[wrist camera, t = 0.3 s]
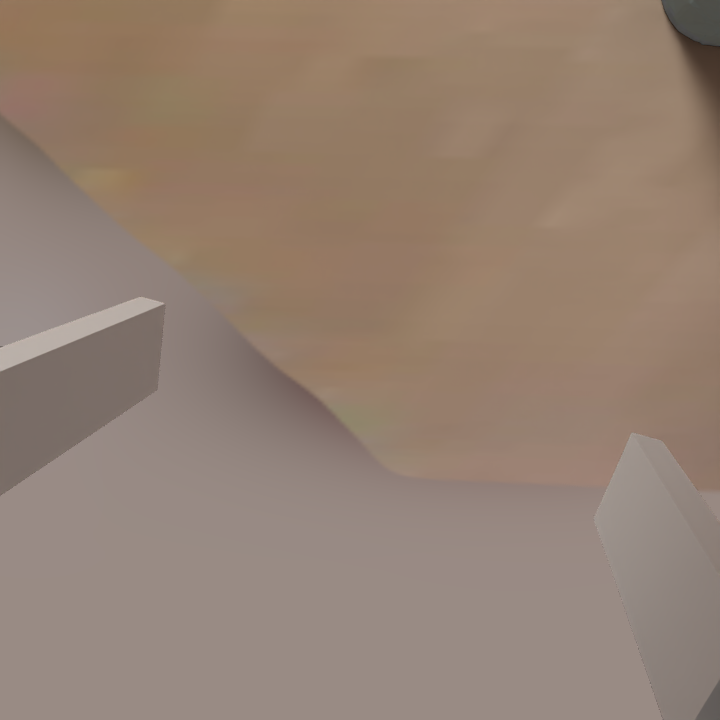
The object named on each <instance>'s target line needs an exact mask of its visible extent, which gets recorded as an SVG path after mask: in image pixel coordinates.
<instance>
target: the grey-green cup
mask: <svg viewBox="0 0 720 720" xmlns="http://www.w3.org/2000/svg"><path fill="white" fill-rule="evenodd" d="M662 3H663V7H664V10H665V12H666V14H667V15H668V17H669V19H670V21H671V22H672V23H673V25H674V26H675V28H676V29H677V30H678V31H679V32H680V33H682V34H684V35H685V36H687V37H689V38H690V39H692V40H694V41H697V42H700V43H701V44H702V45H712V46H720V0H662Z"/></svg>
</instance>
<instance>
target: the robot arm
mask: <svg viewBox="0 0 720 720" xmlns="http://www.w3.org/2000/svg"><path fill="white" fill-rule="evenodd" d="M164 314H165V303H162V302H158V301H155V300H151V299H147V298H144V297H139V298H136V299H133V300H130V301H128V302H125V303H122V304H119V305H117V306H114V307H111V308H108V309H105V310H103V311H100V312H97V313H95V314H92V315H89V316H86V317H83V318H81V319H78V320H75V321H72V322H70V323H67V324H64V325H62V326H58V327H56V328H53V329H50V330H47V331H45V332H42V333H39V334H36V335H34V336H31V337H28V338H25V339H22V340H20V341H17V342H14V343H11V344H9V345H6V346H2V347H0V496H1V495H2V494H3V493H5V492H6V491H8V490H10V489H11V488H13V487H14V486H16V485H17V484H18V483H20V482H21V481H23V480H24V479H26V478H27V477H29V476H30V475H32V474H33V473H35V472H36V471H38V470H39V469H41V468H42V467H44V466H45V465H47V464H48V463H50V462H51V461H53V460H54V459H56V458H57V457H59V456H60V455H61V454H63V453H64V452H66V451H67V450H69V449H70V448H72V447H73V446H75V445H76V444H78V443H79V442H81V441H82V440H84V439H85V438H87V437H88V436H90V435H91V434H93V433H94V432H96V431H97V430H98V429H100V428H102V427H103V426H105V425H106V424H107V423H109V422H110V421H112V420H114V419H115V418H116V417H118V416H119V415H121V414H122V413H124V412H125V411H127V410H128V409H130V408H131V407H133V406H134V405H136V404H137V403H139V402H140V401H142V400H143V399H145V398H146V397H148V396H149V395H151V394H152V393H154V392H155V391H156V390H157V388H158V376H159V367H160V356H161V346H162V335H163V325H164ZM594 522H595V525H596V528H597V530H598V533H599V536H600V539H601V542H602V545H603V548H604V551H605V554H606V556H607V559H608V562H609V565H610V568H611V571H612V574H613V577H614V580H615V583H616V585H617V588H618V591H619V594H620V597H621V600H622V603H623V605H624V608H625V611H626V614H627V617H628V620H629V623H630V626H631V629H632V632H633V635H634V637H635V640H636V643H637V646H638V649H639V652H640V655H641V658H642V660H643V663H644V666H645V669H646V672H647V675H648V678H649V681H650V684H651V687H652V689H653V692H654V695H655V698H656V701H657V704H658V707H659V710H660V712H661V716H662V718H663V720H720V522H719V521H718V519H717V518H716V516H715V515H714V514H713V512H712V511H711V509H710V508H709V506H708V505H707V504H706V502H705V501H704V499H703V498H702V496H701V495H700V494H699V492H698V491H697V489H696V488H695V487H694V485H693V484H692V482H691V481H690V479H689V478H688V477H687V475H686V474H685V472H684V471H683V470H682V468H681V467H680V465H679V464H678V463H677V461H676V460H675V458H674V457H673V455H672V454H671V453H670V451H669V450H668V448H667V447H666V446H665V444H664V443H663V441H661V440H658V439H654V438H651V437H647V436H643V435H640V434H636V433H631V435H630V438H629V440H628V442H627V445H626V447H625V449H624V451H623V454H622V456H621V458H620V460H619V463H618V465H617V467H616V469H615V472H614V474H613V476H612V478H611V481H610V483H609V485H608V487H607V490H606V492H605V495H604V497H603V499H602V501H601V504H600V506H599V508H598V510H597V512H596V515H595V517H594Z"/></svg>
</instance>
